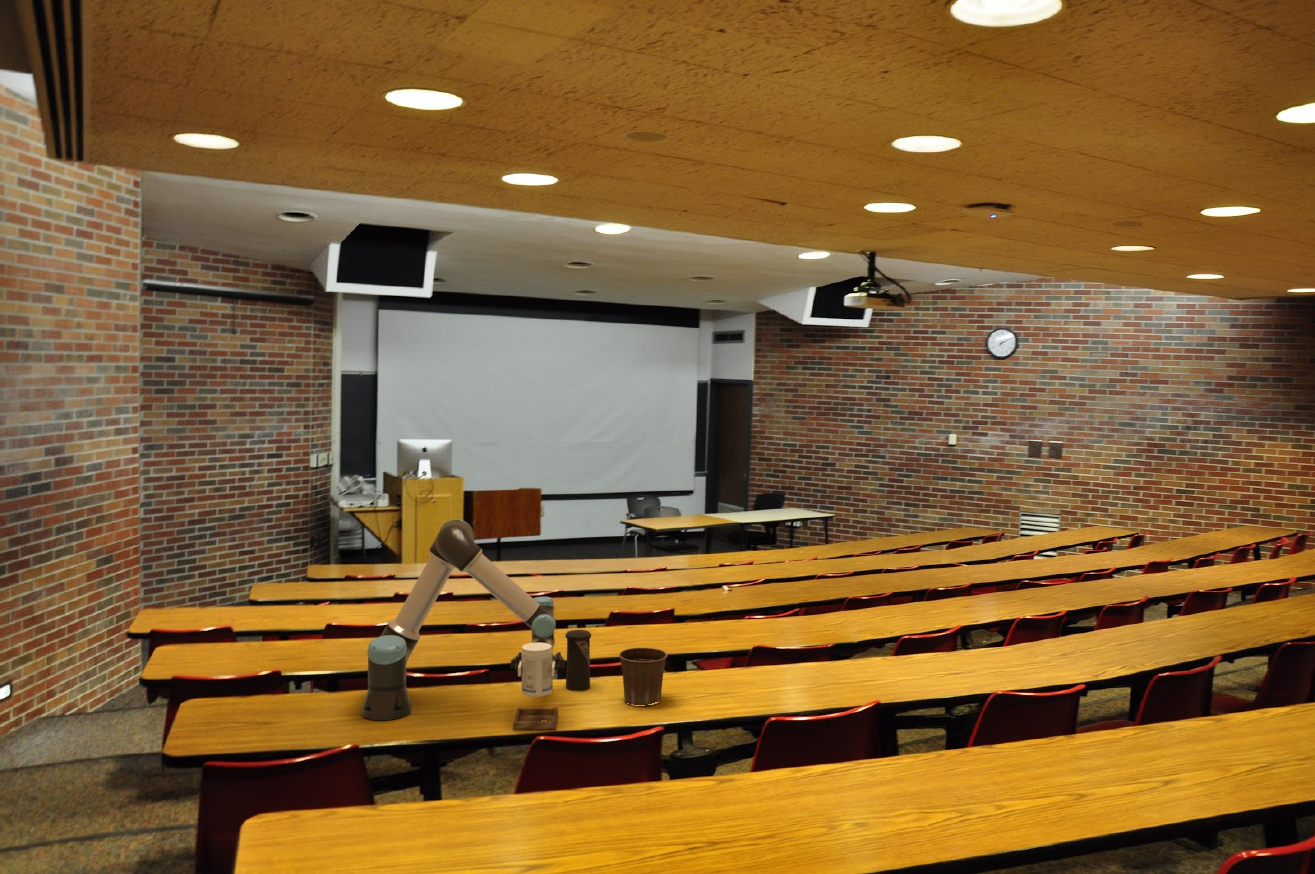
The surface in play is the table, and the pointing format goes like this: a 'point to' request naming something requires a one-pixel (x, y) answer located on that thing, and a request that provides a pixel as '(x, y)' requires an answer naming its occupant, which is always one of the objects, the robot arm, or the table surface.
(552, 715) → the holder tray
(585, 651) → the container
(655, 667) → the plant pot
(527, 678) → the supplement tub
